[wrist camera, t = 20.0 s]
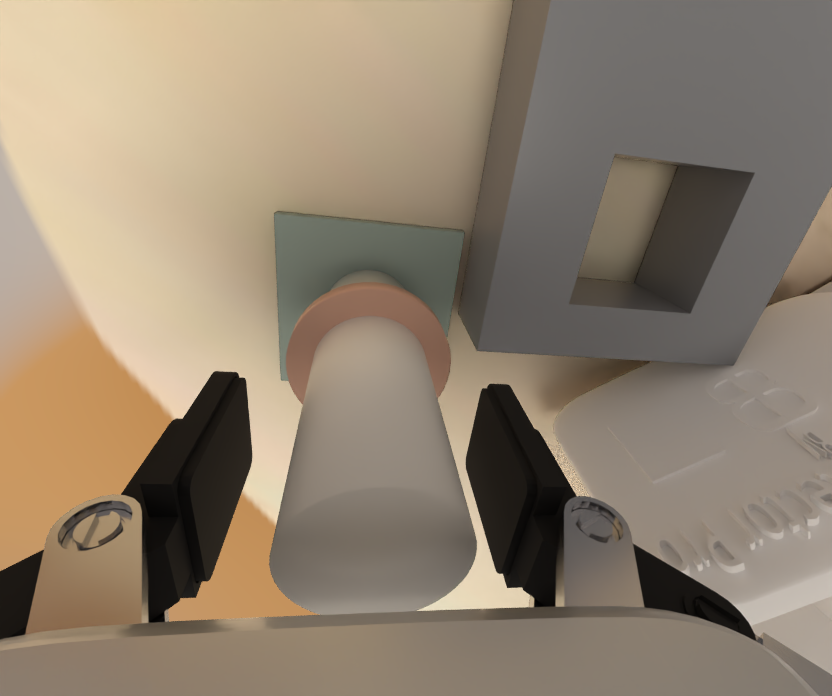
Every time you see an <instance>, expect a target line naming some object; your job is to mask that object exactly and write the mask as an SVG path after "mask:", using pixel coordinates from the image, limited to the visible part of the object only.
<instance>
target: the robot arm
mask: <svg viewBox="0 0 832 696" xmlns="http://www.w3.org/2000/svg"><path fill="white" fill-rule="evenodd" d="M251 463H252V445H251V433H250V421H249V410H248V398H247V386H246V380H245V378H239V375H238V373H237V372H218V371H215V372H213V374H212V375H211V377H210V378H209V380H208V381H207V383H206V384H205V386H204V387H203V389H202V390H201V392H200V393H199V395H198V396H197V398H196V399H195V401H194V402H193V404H192V405H191V407H190V409H189V410H188V412H187V413H186V415H185V416H184V418H183V419H175V420H173V421H172V422H171V423H170V424H169V426H168V427H167V428H166V430H165V431H164V433H163V434H162V436H161V437H160V439H159V440H158V442H157V443H156V444H155V446H154V447H153V449H152V450H151V452H150V453H149V455H148V456H147V457H146V459H145V460H144V462H143V463H142V465H141V466H140V468H139V469H138V470H137V472H136V473H135V475H134V476H133V478H132V479H131V481H130V482H129V484H128V485H127V486H126V488H125V489H124V491H123V492H122V494H121V495H108V496H102V497H98V498H95V499H92V500H89V501H86V502H84V503H82V504H80V505H78V506H77V507H75V508H73V509H71V510H70V511H69V512H67V513H66V514H65V515H63V516H62V517H61V518H60V519H59V520H58V521H57V522H56V523H55V524H54V526H53V527H52V528H51V530H50V532H49V534H48V536H47V539H46V543H45V548H44V550H42V551H40V552H38V553H36V554H34V555H32V556H30V557H28V558H26V559H24V560H22V561H20V562H18V563H16V564H14V565H12V566H10V567H8V568H6V569H4V570H2V571H0V696H832V675H831V674H830V673H828V672H827V671H825V670H823V669H822V668H820V667H819V666H817V665H815V664H814V663H812V662H811V661H809V660H807V659H806V658H804V657H803V656H801V655H799V654H798V653H796V652H794V651H793V650H791V649H790V648H788V647H786V646H785V645H783V644H782V643H780V642H778V641H777V640H775V639H774V638H772V637H770V636H769V635H767V634H766V633H764V632H763V633H762V635H761V636H760V637H759V636H757V635H756V634H754V632H753V630H752V628H751V626H750V624H749V622H748V621H747V620H746V619H745V617H744V616H743V615H742V613H741V612H740V611H739V610H738V609H737V608H736V607H735V606H734V605H733V604H731V603H730V602H729V601H728V600H727V599H725V598H724V597H722V596H721V595H719V594H718V593H716V592H715V591H713V590H711V589H710V588H708V587H706V586H705V585H703V584H701V583H699V582H698V581H696V580H694V579H693V578H691V577H689V576H688V575H686V574H684V573H683V572H681V571H679V570H677V569H676V568H674V567H672V566H671V565H669V564H667V563H666V562H664V561H662V560H660V559H659V558H657V557H655V556H654V555H652V554H650V553H649V552H647V551H645V550H643V549H642V548H640V547H638V546H637V545H635V544H633V542H632V536H631V532H630V529H629V526H628V524H627V522H626V521H625V519H624V518H623V517H622V515H620V514H619V513H618V512H617V511H616V510H615V509H614V508H612V507H611V506H609V505H608V504H606V503H605V502H602V501H600V500H598V499H595V498H591V497H586V496H579V497H577V496H576V495H575V493H574V491H573V489H572V488H571V486H570V484H569V482H568V481H567V479H566V477H565V475H564V474H563V472H562V470H561V468H560V467H559V465H558V463H557V462H556V460H555V458H554V456H553V455H552V453H551V451H550V449H549V448H548V446H547V444H546V442H545V441H544V439H543V437H542V436H541V434H540V433H539V431H538V430H536V429H534V428H533V426H532V424H531V422H530V421H529V419H528V417H527V415H526V413H525V412H524V410H523V408H522V406H521V405H520V403H519V401H518V399H517V397H516V396H515V394H514V392H513V390H512V389H511V387H510V386H509V385H505V384H489V385H488V387H487V389H486V388H483V389H482V391H481V394H480V398H479V403H478V407H477V412H476V416H475V420H474V425H473V429H472V434H471V438H470V442H469V447H468V451H467V456H466V470H467V473H468V477H469V480H470V484H471V487H472V490H473V494H474V497H475V501H476V504H477V508H478V511H479V514H480V518H481V521H482V525H483V528H484V531H485V535H486V538H487V542H488V545H489V549H490V552H491V555H492V559H493V562H494V566H495V569H496V571H497V573H499V574H503V576H504V579H505V582H506V585H507V588H517V587H523V590H524V591H525V592H527V593H528V594H529V595H530V599H529V607H526V608H496V609H466V610H436V611H410V612H383V613H358V614H332V615H308V616H284V617H261V618H239V619H217V620H195V621H175V622H174V621H173V622H169V617H168V609H169V608H170V607H172V606H173V605H174V604H176V603H177V602H179V600H180V598H196V596H197V593H198V590H199V588H200V585H201V582H202V581H209V580H210V578H211V576H212V574H213V571H214V568H215V565H216V562H217V559H218V557H219V554H220V551H221V548H222V546H223V543H224V540H225V537H226V534H227V532H228V529H229V526H230V523H231V520H232V518H233V514H234V512H235V509H236V506H237V504H238V500H239V498H240V495H241V492H242V490H243V487H244V484H245V481H246V478H247V476H248V473H249V470H250V467H251Z"/></svg>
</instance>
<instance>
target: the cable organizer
mask: <svg viewBox="0 0 832 696" xmlns="http://www.w3.org/2000/svg"><path fill="white" fill-rule="evenodd" d="M553 431H554V434H555V436H556V439H557V441H558V443H559V445H560V447H561V449H562V451H563V453H564V455H565V457H566V459H567V460H568V462H569V464H570V465H571V467H572V468H573V470H574V472H575V473H576V475H577V477H578V478H579V480H580V481H581V483H582V485H583V486H584V488H585V490H586V491H587V493H588V494H589V496H590V497H591V498H595V499H598V500H600V501H602V502H605V503H606V504H608V505H609V506H611V507H612V508H614V509H615V510H616V511H617V512H618V513H619V514H620V515H622V517H623V518H624V519H625V521H626V522H627V524H628V526H629V529H630V532H631V536H632V542H633V544H635V545H637V546H638V547H640V548H642V549H643V550H645V551H647V552H649V553H650V554H652V555H654V556H655V557H657V558H659V559H660V560H662V561H664V562H666V563H667V564H669V565H671V566H672V567H674V568H676V569H677V570H679V571H681V572H683V573H684V574H686V575H688V576H689V577H691V578H693V579H694V580H696V581H698V582H699V583H701V584H703V585H705V586H706V587H708V588H710V589H711V590H713V591H715V592H716V593H718V594H719V595H721V596H722V597H724V598H725V599H727V600H728V601H729V602H730V603H731V604H733V605H734V606H735V607H736V608H737V609H738V610H739V611H740V612H741V613H742V615H743V616H744V617H745V619H746V620H747V621H748V622H749V624H750V626H751V628H752V630H753V632H754V634H756V635H757V636H759V637H760V636H761V635H762V633H763V632H764V633H766V634H767V635H769V636H770V637H772V638H774V639H775V640H777V641H778V642H780V643H782V644H783V645H785V646H786V647H788V648H790V649H791V650H793V651H794V652H796V653H798V654H799V655H801V656H803V657H804V658H806V659H807V660H809V661H811V662H812V663H814V664H815V665H817V666H819V667H820V668H822V669H823V670H825V671H827V672H828V673H830V674H831V675H832V292H827V293H813V294H807V295H801V296H797V297H793V298H789V299H786V300H783V301H780V302H777V303H775V304H772V305H770V306H768V307H766V308H765V309H764V311H763V313H762V315H761V317H760V318H759V320H758V322H757V324H756V326H755V328H754V329H753V331H752V333H751V335H750V337H749V339H748V340H747V342H746V344H745V346H744V348H743V350H742V351H741V353H740V355H739V357H738V359H737V361H736V362H735V364H734V366H730V365H713V364H696V363H678V362H661V361H652V362H650V363H648V364H646V365H644V366H641V367H639V368H637V369H634V370H632V371H630V372H628V373H626V374H624V375H622V376H620V377H617V378H615V379H613V380H611V381H609V382H607V383H605V384H603V385H601V386H598V387H596V388H595V389H593V390H591V391H589V392H587V393H585V394H583V395H581V396H579V397H577V398H575V399H574V400H572V401H571V402H570V403H568V404H567V405H566V406H565V407H564V408H563V409H562V410H561V411H560V412H559V414H558V415H557V417H556V419H555V421H554V426H553Z"/></svg>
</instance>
